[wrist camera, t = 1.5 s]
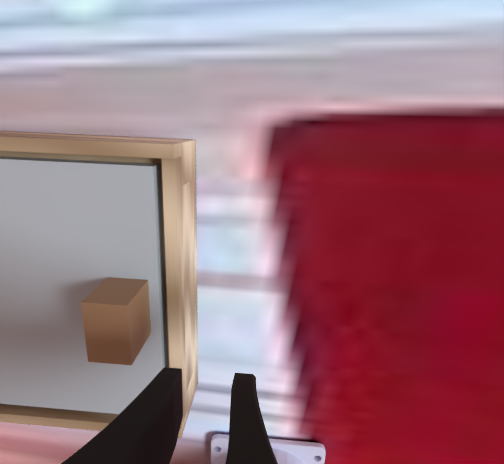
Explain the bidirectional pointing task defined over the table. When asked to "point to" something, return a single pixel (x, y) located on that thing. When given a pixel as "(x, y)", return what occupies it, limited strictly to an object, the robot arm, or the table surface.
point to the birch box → (174, 240)
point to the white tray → (80, 282)
